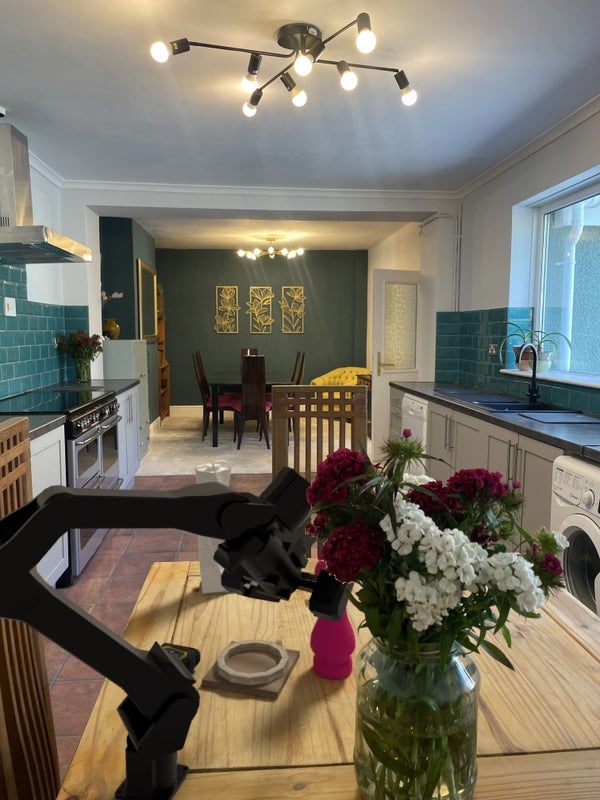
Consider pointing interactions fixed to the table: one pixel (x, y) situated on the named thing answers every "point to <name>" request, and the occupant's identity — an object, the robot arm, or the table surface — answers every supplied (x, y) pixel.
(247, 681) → the stand
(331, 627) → the pepper mill
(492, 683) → the table surface
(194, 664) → the tape measure
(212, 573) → the skyscraper
